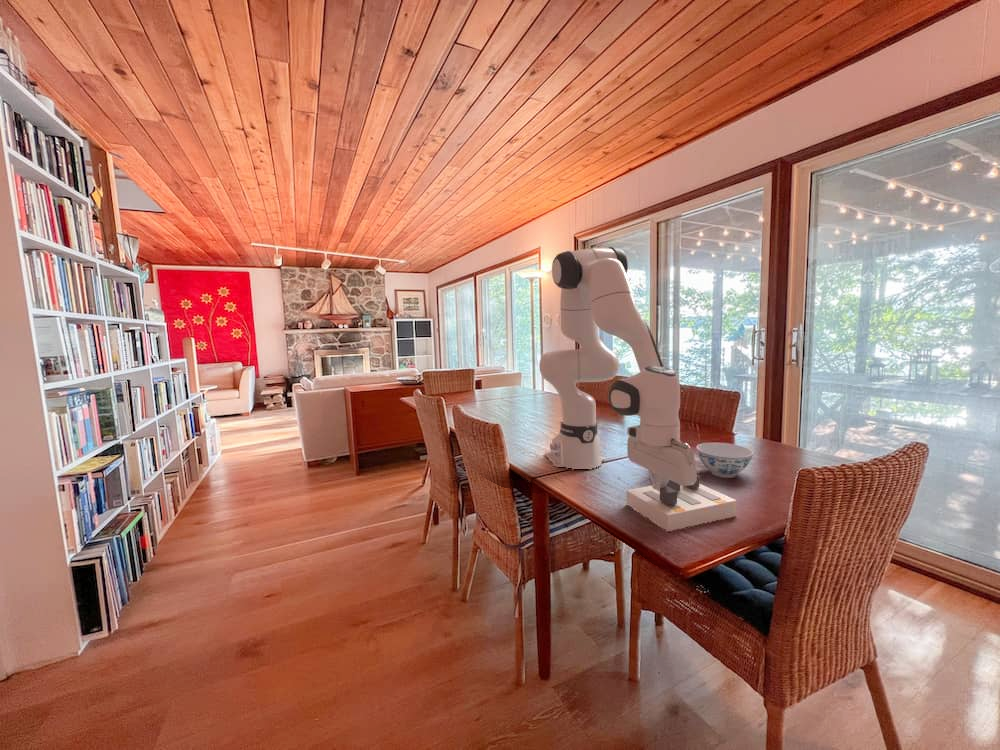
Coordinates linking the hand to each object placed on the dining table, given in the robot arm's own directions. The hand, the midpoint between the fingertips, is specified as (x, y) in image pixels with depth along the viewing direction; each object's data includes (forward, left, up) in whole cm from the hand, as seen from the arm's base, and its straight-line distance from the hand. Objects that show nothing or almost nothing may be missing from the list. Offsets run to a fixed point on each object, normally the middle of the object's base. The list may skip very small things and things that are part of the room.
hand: (659, 490), depth 97 cm
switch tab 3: (-3, +12, -2) cm, 13 cm away
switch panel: (0, +6, -6) cm, 9 cm away
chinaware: (-15, +36, -7) cm, 40 cm away
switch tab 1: (-3, +6, -2) cm, 7 cm away
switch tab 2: (+3, 0, -2) cm, 3 cm away
